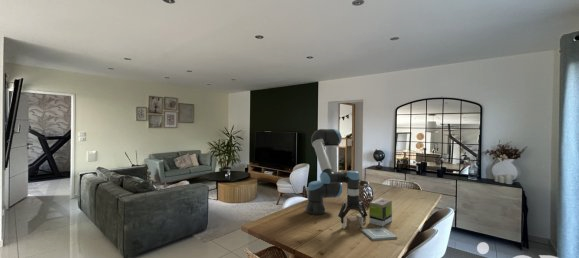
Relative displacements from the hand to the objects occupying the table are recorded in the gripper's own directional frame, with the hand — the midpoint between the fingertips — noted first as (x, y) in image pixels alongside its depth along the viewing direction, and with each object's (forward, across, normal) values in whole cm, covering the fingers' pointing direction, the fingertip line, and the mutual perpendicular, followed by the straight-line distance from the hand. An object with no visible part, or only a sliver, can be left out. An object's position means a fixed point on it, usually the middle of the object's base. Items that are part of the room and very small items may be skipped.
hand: (352, 227), depth 166 cm
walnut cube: (0, 0, 0) cm, 0 cm away
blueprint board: (0, +11, -13) cm, 17 cm away
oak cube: (0, +10, +8) cm, 13 cm away
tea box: (0, +24, +6) cm, 25 cm away
